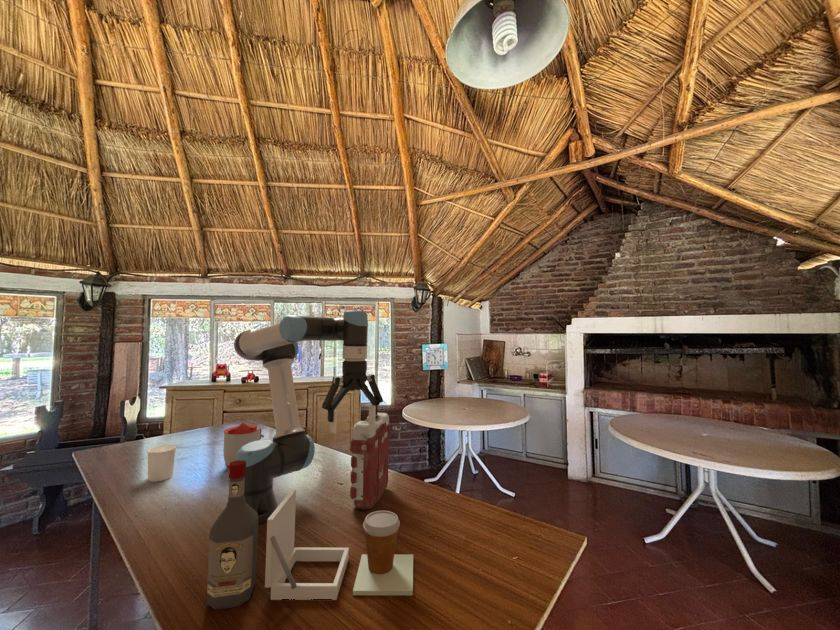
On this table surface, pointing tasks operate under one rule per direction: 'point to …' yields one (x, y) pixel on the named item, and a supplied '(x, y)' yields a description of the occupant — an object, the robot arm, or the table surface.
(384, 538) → the disposable coffee cup
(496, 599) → the table surface
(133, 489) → the table surface
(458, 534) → the table surface
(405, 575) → the board
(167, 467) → the candle holder
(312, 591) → the access hatch
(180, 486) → the table surface
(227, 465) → the citrus juicer
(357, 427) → the first aid kit
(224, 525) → the liquor
